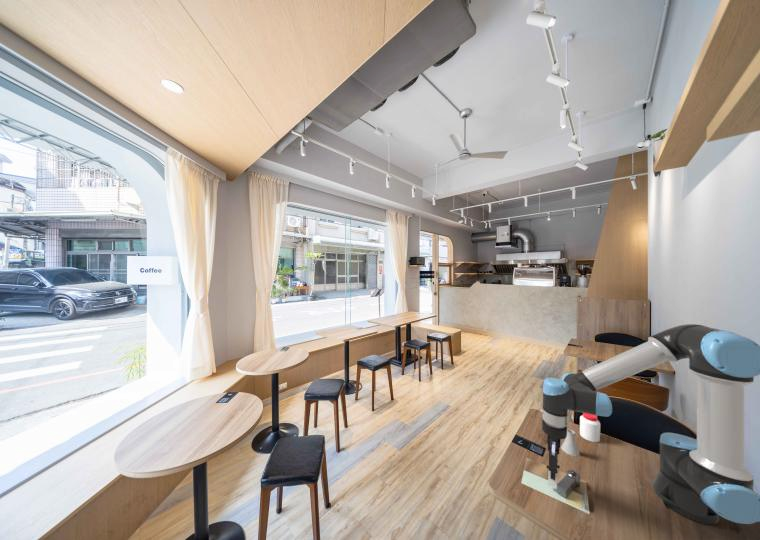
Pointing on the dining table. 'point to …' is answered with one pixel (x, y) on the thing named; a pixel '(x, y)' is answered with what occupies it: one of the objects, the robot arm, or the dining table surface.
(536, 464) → the board
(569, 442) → the flask
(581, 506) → the door panel
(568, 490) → the latch bar
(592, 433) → the pill bottle
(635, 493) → the dining table surface
